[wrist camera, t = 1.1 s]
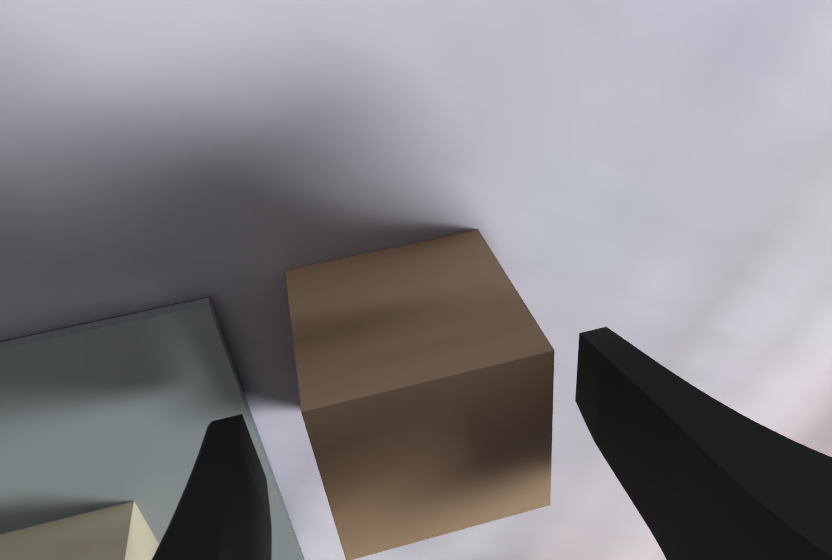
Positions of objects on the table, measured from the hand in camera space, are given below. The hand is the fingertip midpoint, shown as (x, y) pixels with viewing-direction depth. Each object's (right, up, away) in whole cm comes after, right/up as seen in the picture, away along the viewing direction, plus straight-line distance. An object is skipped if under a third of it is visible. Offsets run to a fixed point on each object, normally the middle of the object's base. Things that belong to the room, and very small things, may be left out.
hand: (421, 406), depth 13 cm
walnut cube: (-1, +2, +2) cm, 3 cm away
